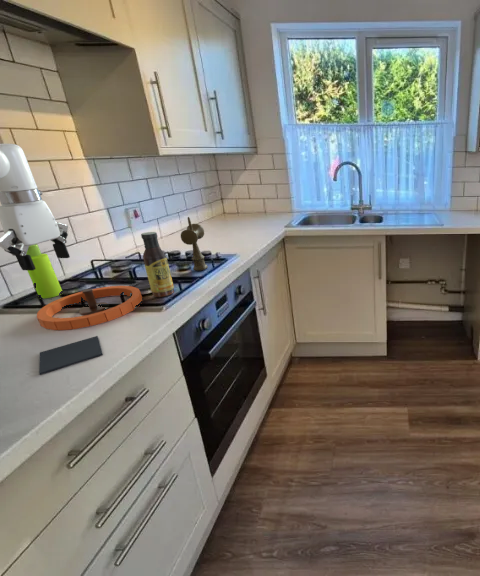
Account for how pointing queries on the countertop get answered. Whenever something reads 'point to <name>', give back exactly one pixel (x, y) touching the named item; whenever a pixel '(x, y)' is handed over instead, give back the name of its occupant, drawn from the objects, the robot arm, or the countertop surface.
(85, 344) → the pad
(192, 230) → the kendama
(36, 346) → the countertop surface
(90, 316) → the ring
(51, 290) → the soap dispenser
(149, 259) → the sauce bottle
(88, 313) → the post
